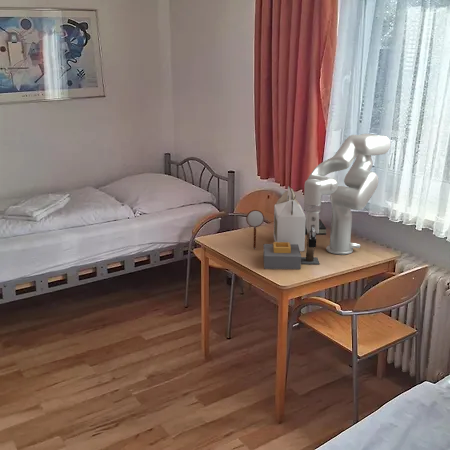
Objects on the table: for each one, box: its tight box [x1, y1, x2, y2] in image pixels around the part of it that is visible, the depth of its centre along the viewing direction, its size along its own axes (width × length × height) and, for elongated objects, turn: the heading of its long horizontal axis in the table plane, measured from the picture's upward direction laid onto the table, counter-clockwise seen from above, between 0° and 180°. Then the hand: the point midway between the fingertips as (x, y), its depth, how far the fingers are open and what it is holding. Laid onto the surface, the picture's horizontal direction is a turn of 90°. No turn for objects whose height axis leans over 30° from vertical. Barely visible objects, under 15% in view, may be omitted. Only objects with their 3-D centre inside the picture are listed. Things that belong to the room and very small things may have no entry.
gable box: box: [273, 185, 306, 252], centre depth 269 cm, size 22×13×28 cm, turn 179°
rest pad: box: [301, 256, 321, 266], centre depth 250 cm, size 8×8×1 cm
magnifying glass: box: [245, 209, 265, 250], centre depth 263 cm, size 9×2×20 cm, turn 97°
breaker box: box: [262, 241, 302, 270], centre depth 248 cm, size 16×16×8 cm
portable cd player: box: [305, 218, 327, 236], centre depth 295 cm, size 16×17×4 cm
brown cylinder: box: [305, 232, 315, 262], centre depth 248 cm, size 4×4×15 cm
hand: (311, 243), depth 248 cm, fingers open, 9 cm apart
